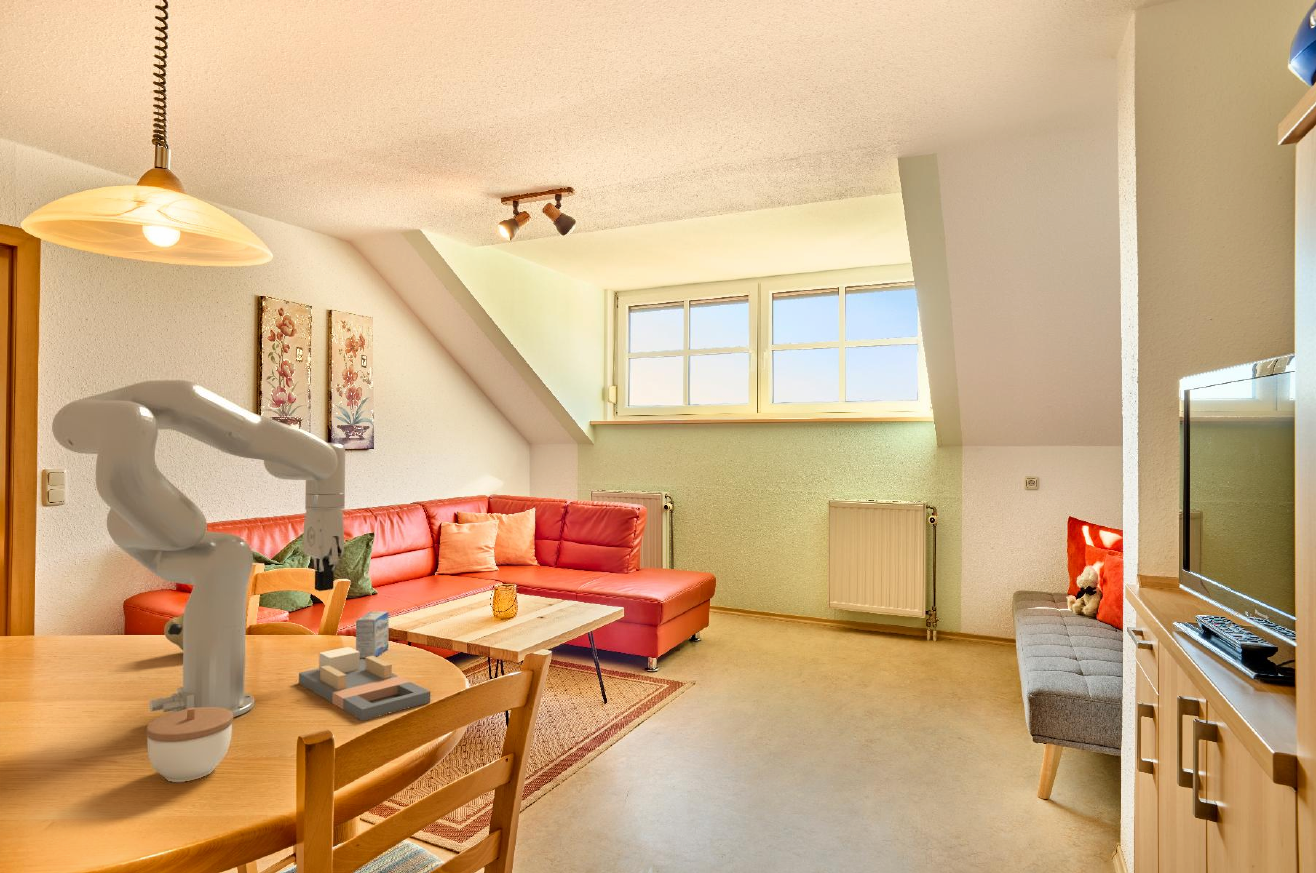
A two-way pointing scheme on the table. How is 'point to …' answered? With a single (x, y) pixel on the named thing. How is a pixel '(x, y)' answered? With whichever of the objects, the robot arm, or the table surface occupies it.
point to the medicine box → (372, 634)
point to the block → (340, 659)
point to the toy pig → (175, 630)
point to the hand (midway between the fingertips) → (324, 589)
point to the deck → (365, 688)
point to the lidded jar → (189, 742)
